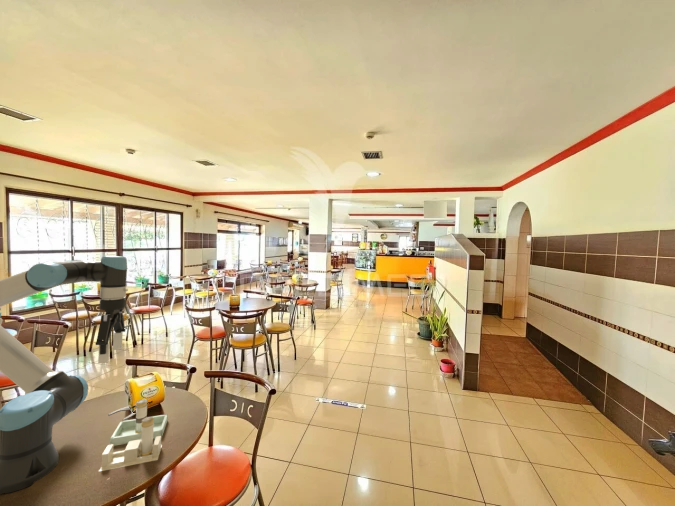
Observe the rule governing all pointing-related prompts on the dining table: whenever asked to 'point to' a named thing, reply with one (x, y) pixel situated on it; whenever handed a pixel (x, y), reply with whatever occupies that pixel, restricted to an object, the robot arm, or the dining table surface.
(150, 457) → the fuse holder
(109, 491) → the dining table surface
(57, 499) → the dining table surface
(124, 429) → the parts tray
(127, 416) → the pliers
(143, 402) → the fuse
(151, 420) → the fuse
